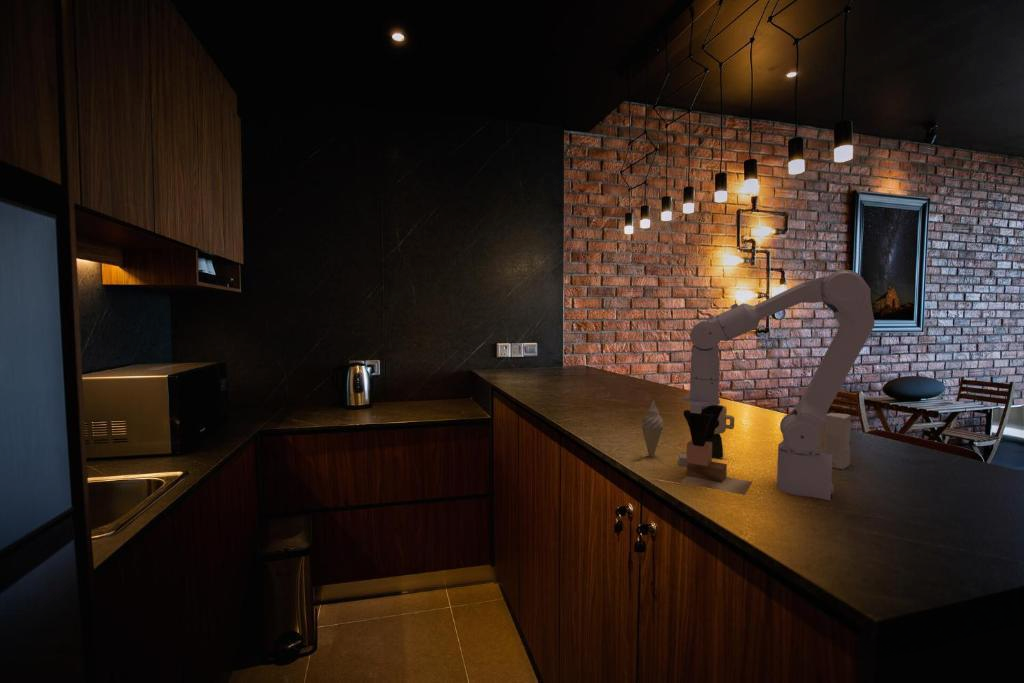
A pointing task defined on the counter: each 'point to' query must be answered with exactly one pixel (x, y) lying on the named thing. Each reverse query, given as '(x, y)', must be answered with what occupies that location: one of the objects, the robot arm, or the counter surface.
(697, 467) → the walnut bar
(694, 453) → the terracotta cube
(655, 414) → the ice cream cone
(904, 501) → the counter surface
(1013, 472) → the counter surface
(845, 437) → the skincare box
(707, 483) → the birch board
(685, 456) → the grey block
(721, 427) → the character mug
